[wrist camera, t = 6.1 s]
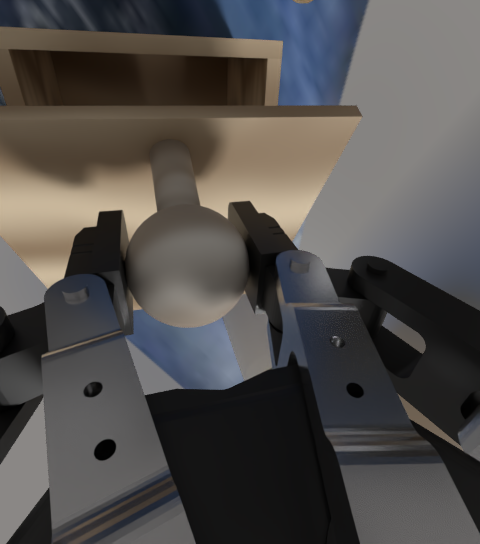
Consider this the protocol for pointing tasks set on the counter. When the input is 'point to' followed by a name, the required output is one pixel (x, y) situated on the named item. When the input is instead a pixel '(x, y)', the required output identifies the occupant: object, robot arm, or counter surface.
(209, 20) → the counter surface
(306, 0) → the sprinkles bottle
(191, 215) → the wooden box lid
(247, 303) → the can
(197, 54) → the wooden box
